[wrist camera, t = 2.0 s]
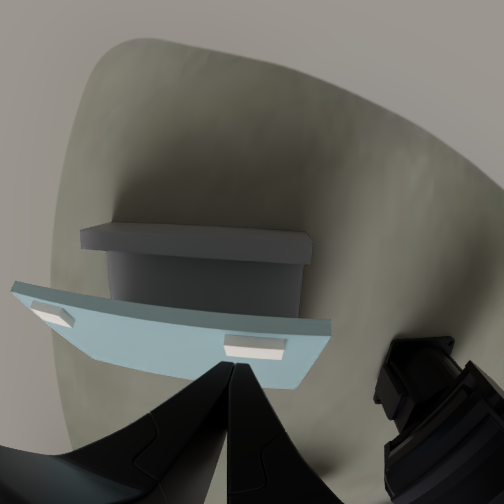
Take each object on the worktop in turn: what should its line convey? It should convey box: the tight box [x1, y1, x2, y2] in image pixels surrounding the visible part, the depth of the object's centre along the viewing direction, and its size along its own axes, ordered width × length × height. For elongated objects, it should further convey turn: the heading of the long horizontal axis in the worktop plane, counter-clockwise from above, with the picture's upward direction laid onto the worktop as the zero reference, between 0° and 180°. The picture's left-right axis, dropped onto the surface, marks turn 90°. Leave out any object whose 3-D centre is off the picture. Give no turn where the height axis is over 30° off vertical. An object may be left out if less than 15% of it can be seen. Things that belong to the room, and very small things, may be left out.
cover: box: [11, 281, 331, 389], centre depth 13 cm, size 14×9×1 cm
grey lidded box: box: [80, 222, 313, 318], centre depth 18 cm, size 14×9×4 cm, turn 87°
